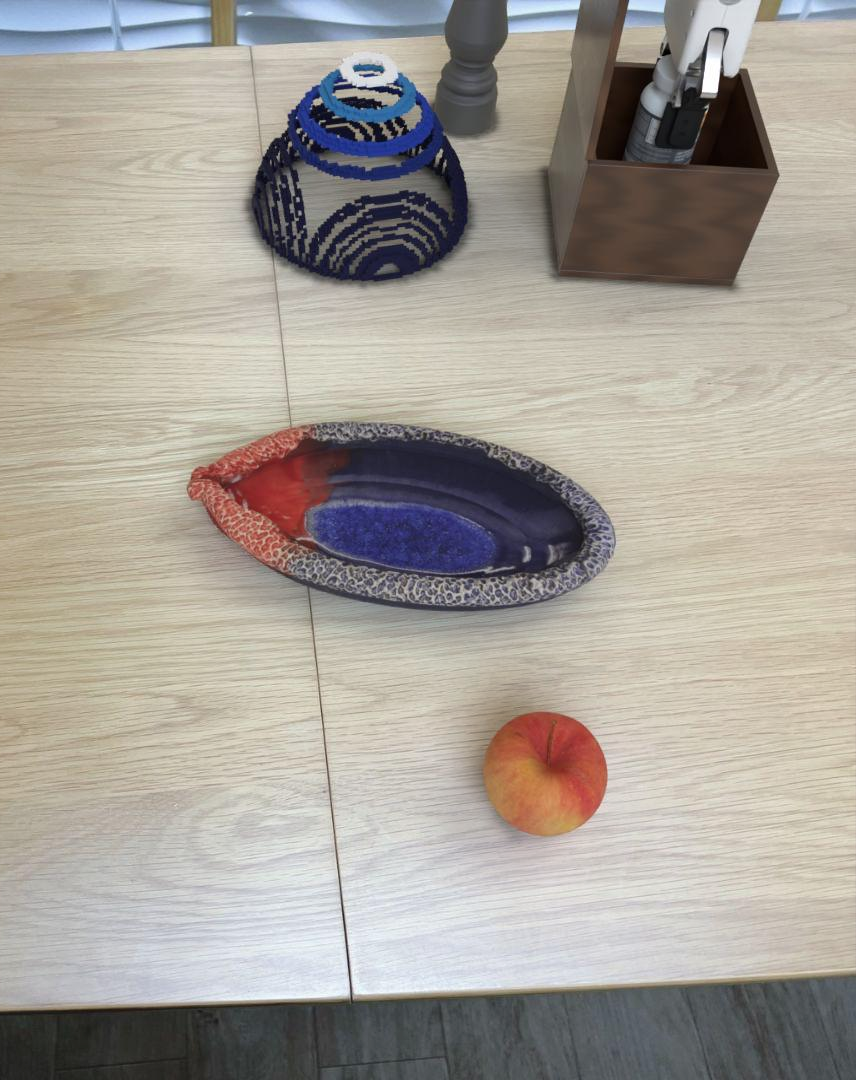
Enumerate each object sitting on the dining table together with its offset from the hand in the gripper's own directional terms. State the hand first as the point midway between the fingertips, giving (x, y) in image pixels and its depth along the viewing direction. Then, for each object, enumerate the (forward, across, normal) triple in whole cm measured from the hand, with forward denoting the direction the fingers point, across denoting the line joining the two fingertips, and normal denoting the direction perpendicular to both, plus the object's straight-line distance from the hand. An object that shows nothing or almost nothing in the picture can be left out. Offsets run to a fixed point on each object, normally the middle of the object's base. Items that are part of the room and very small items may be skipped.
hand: (668, 122), depth 94 cm
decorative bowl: (+11, 0, +26) cm, 28 cm away
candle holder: (+11, +16, +16) cm, 25 cm away
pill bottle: (+5, 0, 0) cm, 5 cm away
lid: (-9, 0, +8) cm, 12 cm away
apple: (+11, -58, +13) cm, 60 cm away
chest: (+11, 0, 0) cm, 11 cm away
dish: (+11, -38, +22) cm, 45 cm away
